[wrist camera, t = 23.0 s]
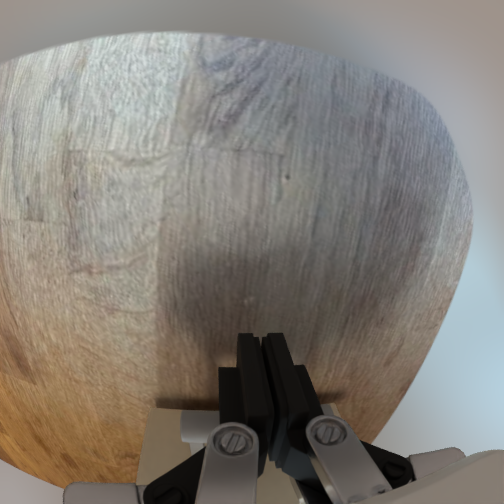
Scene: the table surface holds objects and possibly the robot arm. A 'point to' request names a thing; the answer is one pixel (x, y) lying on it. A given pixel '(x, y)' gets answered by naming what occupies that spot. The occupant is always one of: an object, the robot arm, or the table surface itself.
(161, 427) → the drawer
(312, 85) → the table surface
